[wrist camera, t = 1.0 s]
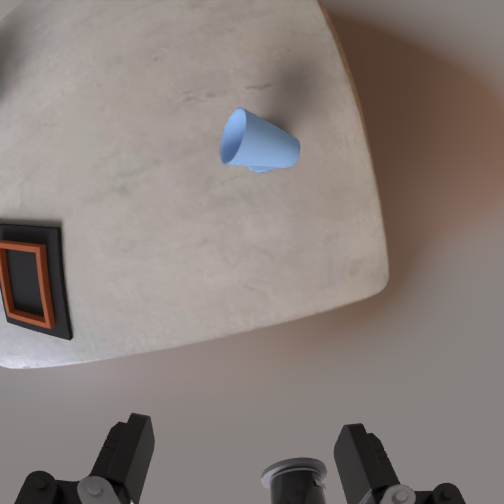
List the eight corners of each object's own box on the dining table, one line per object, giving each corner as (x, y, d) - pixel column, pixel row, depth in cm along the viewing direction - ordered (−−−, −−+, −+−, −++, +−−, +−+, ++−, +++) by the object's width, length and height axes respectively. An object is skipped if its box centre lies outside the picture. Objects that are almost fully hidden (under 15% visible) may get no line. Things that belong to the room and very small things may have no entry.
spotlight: (220, 166, 31) (283, 180, 31) (209, 160, 21) (300, 180, 22) (230, 122, 30) (293, 137, 30) (224, 98, 20) (314, 119, 20)
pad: (72, 338, 35) (65, 345, 33) (9, 320, 35) (2, 326, 33) (60, 227, 32) (50, 230, 29) (-4, 223, 31) (-14, 226, 29)
